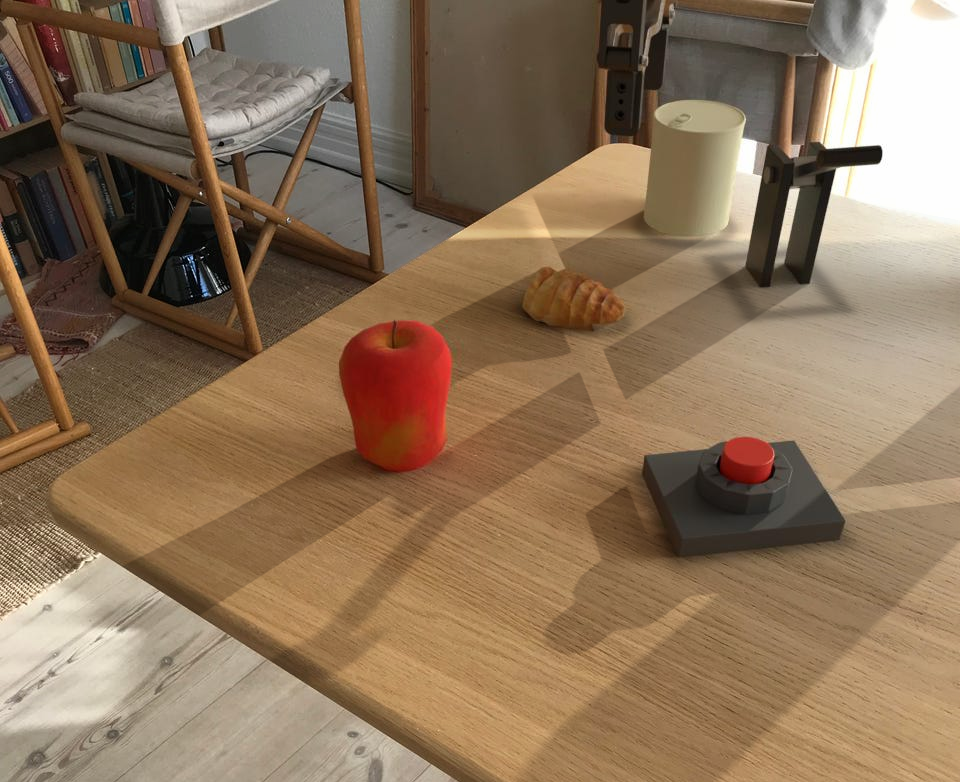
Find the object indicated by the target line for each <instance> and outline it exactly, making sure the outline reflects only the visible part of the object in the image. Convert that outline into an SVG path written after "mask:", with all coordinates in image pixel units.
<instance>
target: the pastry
mask: <svg viewBox="0 0 960 782" xmlns="http://www.w3.org/2000/svg"><path fill="white" fill-rule="evenodd" d="M521 306H522V307H521V308H522V310H524V311H525V312H526V313H527V314H528V315H529V316H530V317H531V318H532V319H533V320H534V321H535V322H543V323H545V324H546V325H547V326H554V327H559V328H564V329H571V330H578V331H579V330H580V331H587V332H595V329H594V327H593V324H596V325H604V324H610V323H616V322H618V321H620V320H621V319H622V318H623V317H624V316H625V314H626V311H627V307H626V306H625V304H624V302H623V301H622V300H621V298H619V297H618V296H617V295H616V294H615V293H614V291H613V290H612V289H609V288H606V287H604V286H603V284H602V283H601V282H600V281H595V280H592V279H591V278H590V277H589V276H588V275H587V274H586V273H585V272H581V273H575V272H574V271H573V270H572V269H570V268H563V269H561V270H559V271H557V270H556V269H554V268H553V267H551V266H543V267H541V268H540V269H538V270H537V271H536V272H534V274H533V277H532V278H531V280H529V282H528V285H527V287H526V290H525V293H524V296H523V301H522V305H521Z"/></svg>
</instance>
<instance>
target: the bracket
mask: <svg viewBox="0 0 960 782" xmlns="http://www.w3.org/2000/svg"><path fill="white" fill-rule="evenodd" d="M821 149H827V148H826V146H824V144H823V143H822V142H821V141H809V143H808V147H807V152H806V156H816V160H817V155H818V152H819V151H820V150H821ZM790 158H791V157H790V156H789V155H788V154H787V153H786V151H784V150H783V149H782V148H781V147H780V145H778V144H769V145H766V152H765V156H764V160H763V161H764V162H763V167H762V173H761V178H760V182H759V183H760V184H759V189H758V193H757V194H758V195H757V200H756V206H755V211H754V216H753V221H752V228H751V233H750V238H749V242H748V243H749V244H748V249H747V254H746V261H745V269H746V271H747V272H748V273H749V275H750V276H751V277H752V278H753V279H754V282H755V283H756V284H757V286H758V287H759V288H762V289H763V288H770V287H771V283H772V278H773V273H774V269H775V264H776V259H777V253H778V248H779V244H780V238H781V233H782V228H783V224H784V219H785V214H786V209H787V204H788V199H789V195H790V190H791V189H790V185H791V180H792V175H793V170H794V165H795V163H794V162H793V161H792V160H791V159H790ZM836 172H837V169H834V170H830V171H827V172H823V173H820V174H817V175H816V184H815V185H812V186H808V187H805V188H799V190H798V195H797V200H796V203H795V209H794V214H793V219H792V224H791V228H790V233H789V238H788V243H787V247H786V252H785V257H784V262H783V265H784V266H785V267H786V268H787V270H788V271H789V272H790V273H791V275H792V276H793V277H794V278H795V280H796V282H798V284H799V285H808V284H811V280H812V275H813V271H814V266H815V263H816V258H817V254H818V250H819V246H820V245H819V244H820V241H821V237H822V232H823V228H824V223H825V219H826V215H827V210H828V207H829V202H830V199H831V193H832V189H833V185H834V180H835V175H836Z"/></svg>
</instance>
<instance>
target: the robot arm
mask: <svg viewBox="0 0 960 782" xmlns="http://www.w3.org/2000/svg"><path fill="white" fill-rule="evenodd" d="M679 2H680V0H601V2H600V19H599V35H598V36H599V37H598V52H597V53H596V62H597V68H598V69H602V70H604V71H606V84H605V85H606V86H605V88H606V89H605V103H604V105H605V107H604V121H603V122H604V123H603V126H604V127H603V128H604V131H605V132H606V133H607V134H609V135H611V136H622V137H623V136H624V137H634V136H636V135H637V134H638V132H639V130H640V128H641V125H642V110H643V98H644V91H645V90H646V91H658V90H660V89H661V88H662V86H663V84H664V82H665V75H666V64H667V55H668V54H667V53H668V42H669V41H668V40H669V30H670V27H665V26H671V25H672V23H673V20H674V19H675V17H676V16H675V15H676V10H674V8H677V6H678V4H679ZM624 33H628V34H630V33H631V34H632V39H631V47H630V46H619V38H620V36H621V34H624Z"/></svg>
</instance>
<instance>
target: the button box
mask: <svg viewBox="0 0 960 782" xmlns="http://www.w3.org/2000/svg"><path fill="white" fill-rule="evenodd" d="M728 441H729V440H727V441H720V442H718V443H716V444H714V445H712V446H711V447H709V448H703V449H693V450H683V451H674V452H663V453H654V454H653V453H651V454H645V455H644V456H643V462H642V463H643V464H642V470H641V476H642V478H643V481H644V483H645V485H646V487H647V490H648V492H649V494H650V496H651V498H652V501H653V503H654V505H655V507H656V510H657V513H658V514H659V517H660V519H661V521H662V523H663V526H664V528H665V531H666V532H667V535H668V538H669V540H670V542H671V544H672V547H673V548H674V551H675V553H676V556H677V558H678V559H681V558H691V557H698V556H699V557H700V556H709V555H717V554H726V553H735V552H744V551H745V552H746V551H753V550H762V549H771V548H781V547H789V546H799V545H808V544H817V543H825V542H834V541H840V540H841V537H842V533H843V531H844V527H845V524H846V519H845V517H844V516H843V514H842V513H841V511H840V510H839V508H838V506H837V505H836V503H835V502H834V500H833V499H832V497H831V495H830V494H829V492H828V491H827V489H826V487H825V486H824V484H823V483H822V481H821V480H820V478H819V476H818V475H817V473H816V472H815V470H814V468H813V467H812V465H811V463H810V462H809V460H808V459H807V458H806V456H805V454H804V453H803V451H802V450H801V448H800V447H799V445H798V443H797V441H796V440H783V441H773V442H767V443H768V444H769V445H770V446H771V447H772V449H773V450H774V459H773V464H772V468H771V472H770V476H769V478H768V479H767V480H766V481H764V482H763V483H759V484H749V485H747V484H743V483H738V482H733V481H731V480H729V479H728V478H726V477H724V476H723V475H722V474H721V472H720V462H721V457H722V452H723V447H724V445H725V444H726V443H727V442H728Z"/></svg>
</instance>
